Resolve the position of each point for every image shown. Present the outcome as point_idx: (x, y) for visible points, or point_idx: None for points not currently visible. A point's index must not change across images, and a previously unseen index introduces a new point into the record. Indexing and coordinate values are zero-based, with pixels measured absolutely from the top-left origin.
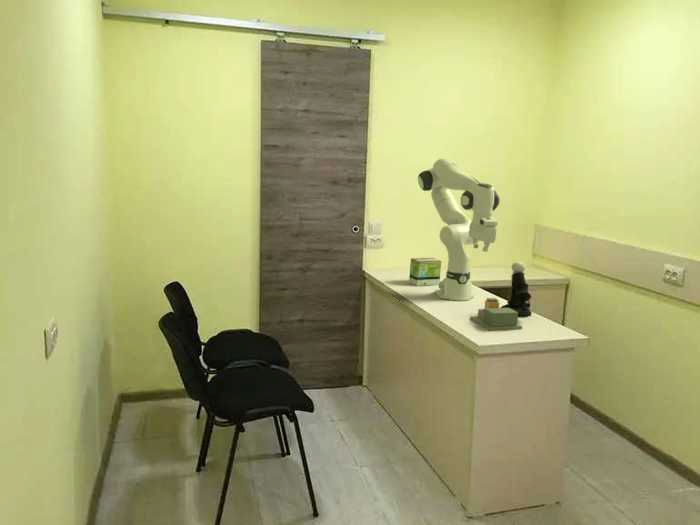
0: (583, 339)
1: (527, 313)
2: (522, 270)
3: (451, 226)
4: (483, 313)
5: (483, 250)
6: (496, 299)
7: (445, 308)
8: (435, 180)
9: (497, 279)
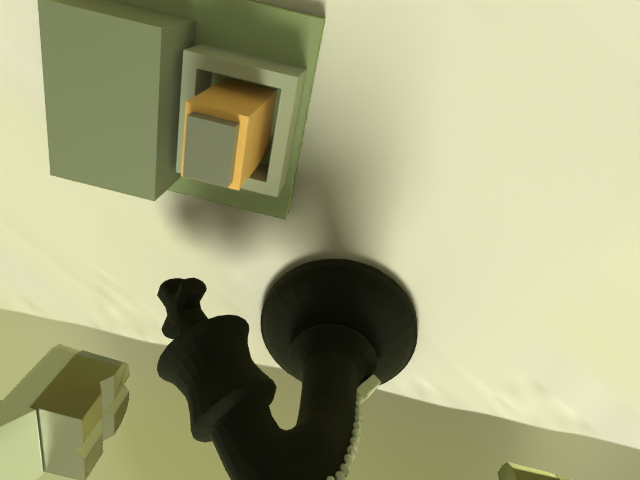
0: None
1: (266, 340)
2: None
3: None
4: (227, 58)
5: (75, 358)
6: (190, 170)
7: (613, 20)
8: None
9: None
